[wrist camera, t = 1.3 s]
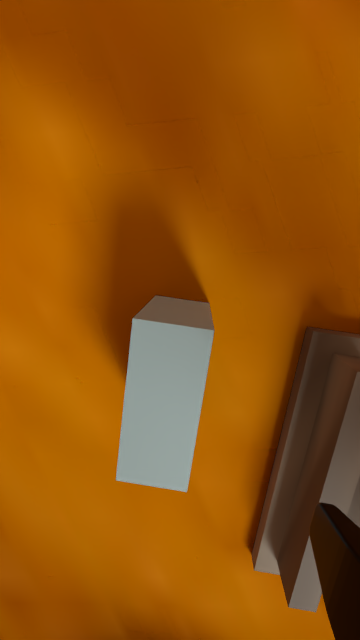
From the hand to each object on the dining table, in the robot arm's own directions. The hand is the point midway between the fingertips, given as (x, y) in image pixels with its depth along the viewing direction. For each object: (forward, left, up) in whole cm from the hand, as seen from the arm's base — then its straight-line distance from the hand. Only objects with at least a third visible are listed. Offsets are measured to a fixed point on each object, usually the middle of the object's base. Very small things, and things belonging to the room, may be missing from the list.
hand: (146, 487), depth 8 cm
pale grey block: (0, 0, -10) cm, 10 cm away
